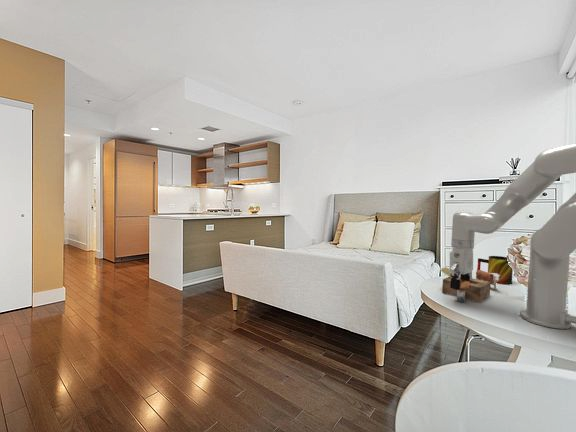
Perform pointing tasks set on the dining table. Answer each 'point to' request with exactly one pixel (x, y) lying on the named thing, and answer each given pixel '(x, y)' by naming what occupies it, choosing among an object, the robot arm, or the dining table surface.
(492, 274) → the bull figurine
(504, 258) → the mug
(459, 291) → the orange-brown domed cylinder
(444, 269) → the plate
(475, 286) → the block
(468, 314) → the dining table surface
